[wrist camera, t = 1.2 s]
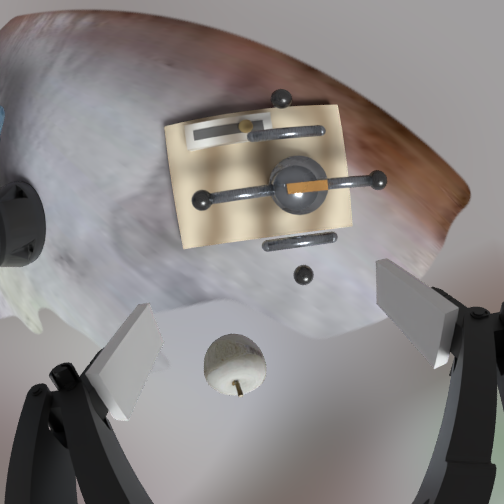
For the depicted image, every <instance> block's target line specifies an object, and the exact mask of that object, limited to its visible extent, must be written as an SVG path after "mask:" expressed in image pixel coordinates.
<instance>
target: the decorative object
mask: <svg viewBox="0 0 504 504" xmlns="http://www.w3.org/2000/svg"><path fill="white" fill-rule="evenodd" d="M204 375H205V378H206V381H207V382H208V384H209V385H210V386H211V387H212V388H213V389H214V390H216V391H218V392H219V393H222V394H226V395H238V396H239V397H243V394H245V393H248V392H251V391H252V390H254V389H256V388H257V387H259V386H260V385H261V384H262V383H263V381H264V379H265V376H266V362H265V359H264V356H263V354H262V352H261V350H260V349H259V347H258V346H257V345H256V344H255V343H254V342H253V341H252V340H250V339H249V338H247V337H245V336H243V335H238V334H228V335H224V336H222V337H220V338H218V339H217V340H215V341H214V342H213V343H212V344H211V346H210V347H209V349H208V350H207V352H206V355H205V358H204Z"/></svg>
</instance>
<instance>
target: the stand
mask: <svg viewBox="0 0 504 504" xmlns="http://www.w3.org/2000/svg"><path fill="white" fill-rule="evenodd" d="M312 125H322V126H324V127H325V129H326V133H325V134H324V135H323V136H316V137H301V138H289V139H279V140H270V141H261V142H249V141H248V140H247V134H248V133H249V132H250V131H257V130H265V129H274V128H285V127H297V126H312ZM164 129H165V137H166V146H167V153H168V161H169V168H170V175H171V181H172V188H173V194H174V200H175V206H176V212H177V217H178V223H179V228H180V233H181V239H182V244H183V249H187V248H194V247H201V246H208V245H215V244H222V243H229V242H236V241H243V240H251V239H258V238H265V237H273V236H280V235H288V234H295V233H303V232H311V231H318V230H326V229H334V228H342V227H350V226H352V213H351V200H350V189H349V188H341V189H330V190H328V193H327V196H326V199H325V201H324V202H323V204H322V205H321V206H320V207H319V208H318V209H316V210H315V211H313V212H311V213H309V214H305V215H294V214H290V213H287V212H286V211H284V210H282V209H281V208H280V207H279V206H278V205H277V204H276V203H275V202H274V201H273V199H272V197H271V196H268V197H260V198H253V199H245V200H238V201H232V202H225V203H219V204H212V205H211V207H210V208H209V209H207V210H205V211H199V210H197V209H195V208H194V207H193V205H192V201H191V200H192V196H193V194H194V193H195V192H196V191H198V190H207V191H208V192H210V193H213V192H220V191H226V190H232V189H239V188H246V187H253V186H261V185H269V177H270V174H271V172H272V170H273V169H274V167H275V166H276V165H277V164H278V163H279V162H280V161H282V160H284V159H286V158H288V157H291V156H306V157H309V158H311V159H313V160H315V161H316V162H318V163H319V164H320V165H321V167H322V168H323V169H324V171H325V173H326V175H327V178H336V177H348V171H347V162H346V155H345V147H344V140H343V134H342V128H341V122H340V116H339V110H338V105H310V106H292V107H287V108H285V109H279V108H268V109H259V110H251V111H243V112H236V113H229V114H223V115H217V116H211V117H206V118H201V119H196V120H191V121H186V122H182V123H177V124H173V125H169V126H165V127H164Z"/></svg>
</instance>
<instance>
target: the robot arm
mask: <svg viewBox="0 0 504 504" xmlns="http://www.w3.org/2000/svg"><path fill="white" fill-rule="evenodd" d="M4 118H5V111H4V109H3V107H2V106H1V105H0V135H1V130H2V126H3V122H4ZM45 231H46V227H45V216H44V211H43V207H42V204H41V201H40V199H39V197H38V195H37V193H36V192H35V190H34V189H33V188H32V187H31V186H30V185H29V184H27V183H25V182H13V183H9V184H7V185H5V186H4V187H2V188H1V189H0V267H23V266H26V265H28V264H30V263H32V262H34V261H35V260H36V259H37V258H38V257H39V255H40V254H41V251H42V249H43V246H44V241H45ZM376 284H377V305H378V306H379V307H380V308H381V309H382V310H383V311H384V312H385V313H386V315H387V316H388V317H389V318H390V319H391V320H392V321H393V322H394V323H395V324H396V326H397V327H398V328H399V329H400V330H401V331H402V332H403V333H404V334H405V336H406V337H407V338H408V339H409V340H410V341H411V343H412V344H413V345H414V346H415V347H416V348H417V350H418V351H419V352H420V353H421V354H422V355H423V357H425V359H426V360H427V361H428V362H429V364H430V365H431V366H432V367H433V368H434V369H435V368H437V367H439V366H442V365H444V364H446V363H447V361H448V358H449V354H450V352H451V353H452V354H453V355H454V356H455V357H454V361H453V364H452V368H451V371H450V374H449V376H451V380H450V387H449V392H448V398H447V402H446V407H445V412H444V416H443V421H442V425H441V428H440V432H439V435H438V439H437V442H436V445H435V449H434V452H433V455H432V458H431V461H430V464H429V466H428V469H427V472H426V475H425V477H424V479H423V482H422V484H421V487H420V489H419V491H418V494H417V496H416V498H415V500H414V501H413V503H412V504H488V503H489V500H490V497H491V493H492V489H493V485H494V481H495V476H496V465H495V464H492V463H491V454H492V448H493V441H494V433H495V423H496V407H497V386H498V389H499V393H500V397H501V401H502V405H503V410H504V302H503V303H502V306H501V310H500V312H498V313H493V314H490V312H489V311H488V310H486V309H484V308H482V307H471V308H467V307H466V306H464V305H463V304H462V303H460V302H459V301H457V300H456V299H454V298H453V297H452V296H450V295H448V294H447V293H446V292H444V291H443V290H441V289H438V288H435V287H429V286H427V285H426V284H425V283H423V282H422V281H420V280H419V279H418V278H416V277H415V276H413V275H412V274H410V273H409V272H407V271H406V270H404V269H403V268H401V267H400V266H398V265H397V264H395V263H394V262H392V261H390V260H389V259H382V260H378V261H376ZM163 344H164V340H163V338H162V335H161V333H160V330H159V328H158V325H157V322H156V320H155V317H154V314H153V311H152V309H151V306H150V303H145V304H138V306H137V307H136V308H135V309H134V311H133V312H132V313H131V314H130V316H129V317H128V318H127V319H126V321H125V322H124V323H123V324H122V326H121V327H120V328H119V329H118V331H117V332H116V333H115V335H114V336H113V337H112V338H111V340H110V341H109V342H108V344H107V345H106V346H105V347H104V348H103V349H101V350H100V351H99V352H98V353H97V354H96V355H95V357H94V358H93V360H92V361H91V362H90V364H89V365H88V366H87V367H86V369H85V370H84V371H83V373H82V374H81V375H80V377H79V375H78V373H77V372H76V370H75V368H74V366H73V365H72V363H63V364H60V365H58V366H56V367H55V368H54V369H52V371H51V372H50V374H49V377H50V378H51V380H52V382H53V383H54V385H55V386H56V388H57V389H58V391H52V392H51V391H50V390H49V388H48V387H47V385H46V384H43V383H42V384H37V385H34V386H33V387H31V389H30V390H29V392H28V393H27V396H26V399H25V402H24V405H23V409H22V412H21V416H20V419H19V422H18V426H17V430H16V434H15V438H14V442H13V447H12V452H11V457H10V463H9V468H8V475H7V483H6V492H5V504H78V503H77V492H76V478H77V481H78V484H79V487H80V490H81V493H82V496H83V498H84V501H85V503H86V504H154V503H153V502H152V500H151V499H150V497H149V496H148V494H147V493H146V491H145V489H144V488H143V486H142V485H141V483H140V481H139V480H138V478H137V476H136V475H135V473H134V471H133V469H132V467H131V465H130V464H129V462H128V460H127V458H126V456H125V454H124V452H123V450H122V448H121V446H120V444H119V442H118V440H117V438H116V435H115V433H114V431H113V429H112V427H111V424H110V422H109V420H108V419H107V418H106V415H107V413H108V411H109V412H110V414H111V415H112V416H113V417H114V419H115V420H124V421H129V418H130V416H131V414H132V412H133V409H134V407H135V405H136V402H137V400H138V398H139V396H140V393H141V391H142V389H143V387H144V384H145V382H146V380H147V378H148V376H149V374H150V372H151V369H152V367H153V365H154V363H155V361H156V359H157V357H158V354H159V352H160V350H161V348H162V346H163ZM48 426H49V427H50V428H51V430H49V427H48Z"/></svg>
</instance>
